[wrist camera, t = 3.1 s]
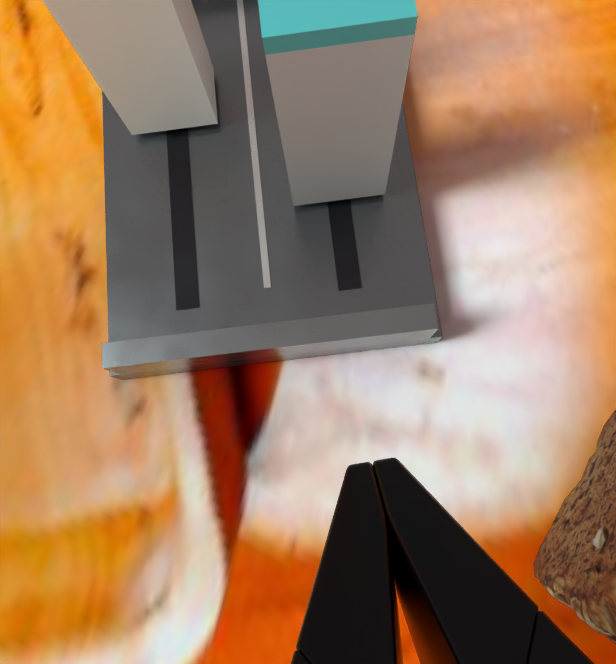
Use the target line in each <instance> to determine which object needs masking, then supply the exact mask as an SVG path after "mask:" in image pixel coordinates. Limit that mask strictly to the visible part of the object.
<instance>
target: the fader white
mask: <svg viewBox="0 0 616 664" xmlns="http://www.w3.org/2000/svg"><path fill="white" fill-rule="evenodd" d="M43 2H44V4H45V5H46V7H47V8H48V10H49V11H50V13H51V14H52V16H53V17H54V19H55V20H56V22H57V23H58V25H59V26H60V28H61V29H62V31H63V32H64V34H65V35H66V37H67V38H68V40H69V41H70V43H71V44H72V46H73V47H74V49H75V50H76V52H77V53H78V55H79V56H80V58H81V59H82V61H83V62H84V64H85V65H86V67H87V68H88V70H89V71H90V73H91V74H92V76H93V77H94V79H95V80H96V82H97V83H98V85H99V86H100V88H101V89H102V91H103V92H104V94H105V95H106V97H107V98H108V100H109V101H110V103H111V104H112V106H113V107H114V109H115V110H116V112H117V113H118V115H119V116H120V118H121V119H122V121H123V122H124V124H125V125H126V127H127V128H128V130H129V131H130V133H131V134H132V135H137V134H144V133H152V132H159V131H167V130H174V129H182V128H189V127H197V126H204V125H212V124H218V119H217V107H216V94H215V82H214V69H213V65H212V62H211V59H210V56H209V53H208V50H207V47H206V44H205V41H204V38H203V35H202V32H201V29H200V26H199V23H198V20H197V17H196V14H195V11H194V8H193V5H192V1H191V0H43Z"/></svg>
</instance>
